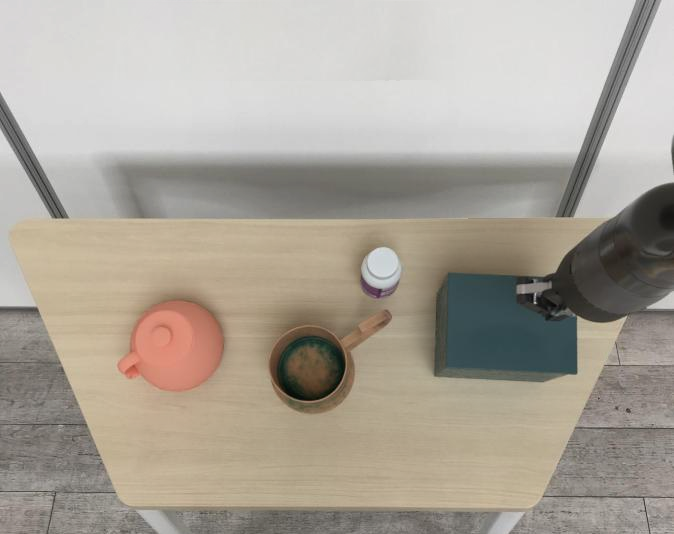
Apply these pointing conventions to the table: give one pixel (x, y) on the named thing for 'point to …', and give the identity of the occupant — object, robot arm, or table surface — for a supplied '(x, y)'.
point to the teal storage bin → (466, 373)
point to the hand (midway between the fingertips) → (551, 312)
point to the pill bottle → (380, 273)
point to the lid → (503, 329)
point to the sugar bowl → (174, 346)
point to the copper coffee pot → (317, 364)
